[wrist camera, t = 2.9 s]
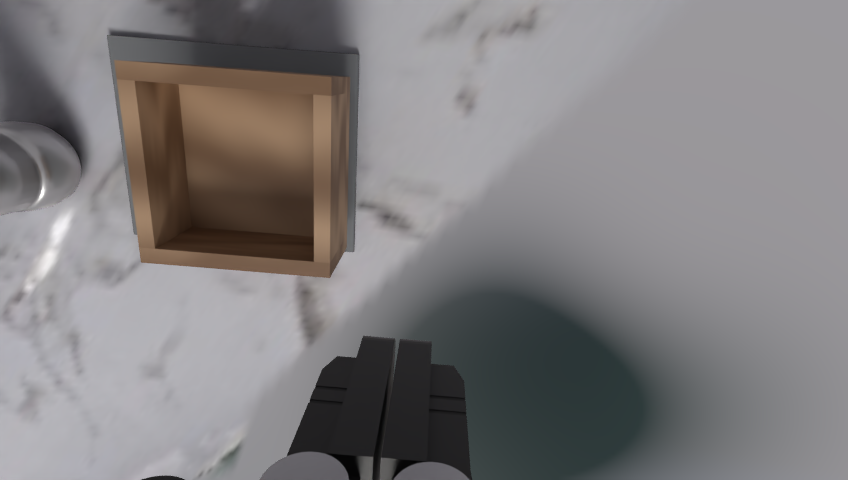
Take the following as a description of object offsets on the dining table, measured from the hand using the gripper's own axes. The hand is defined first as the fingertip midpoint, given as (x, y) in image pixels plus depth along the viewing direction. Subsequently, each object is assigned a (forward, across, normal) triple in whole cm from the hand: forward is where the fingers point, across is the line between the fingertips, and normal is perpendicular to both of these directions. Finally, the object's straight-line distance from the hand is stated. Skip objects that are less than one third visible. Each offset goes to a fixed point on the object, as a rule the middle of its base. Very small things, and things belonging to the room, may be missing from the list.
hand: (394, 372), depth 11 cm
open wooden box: (+27, +12, 0) cm, 29 cm away
